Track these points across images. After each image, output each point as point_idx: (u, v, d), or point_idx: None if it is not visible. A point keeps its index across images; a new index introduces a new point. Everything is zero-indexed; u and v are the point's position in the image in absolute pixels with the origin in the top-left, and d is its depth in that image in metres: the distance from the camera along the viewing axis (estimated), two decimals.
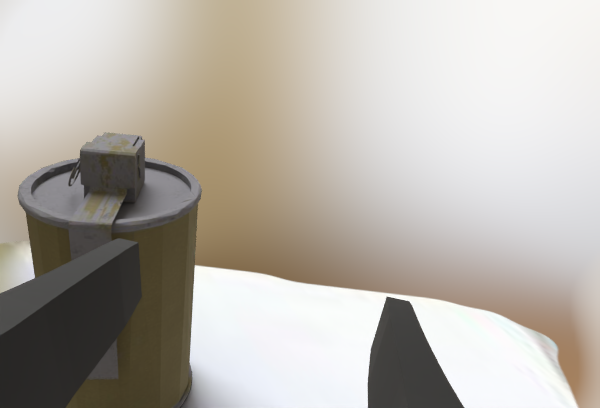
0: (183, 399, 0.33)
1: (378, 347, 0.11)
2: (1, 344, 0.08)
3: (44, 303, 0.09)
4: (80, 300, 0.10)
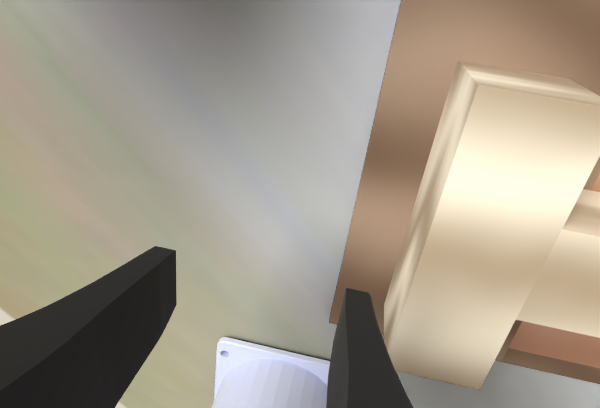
0: None
1: (336, 338, 0.11)
2: (57, 358, 0.08)
3: (94, 315, 0.09)
4: (124, 310, 0.10)
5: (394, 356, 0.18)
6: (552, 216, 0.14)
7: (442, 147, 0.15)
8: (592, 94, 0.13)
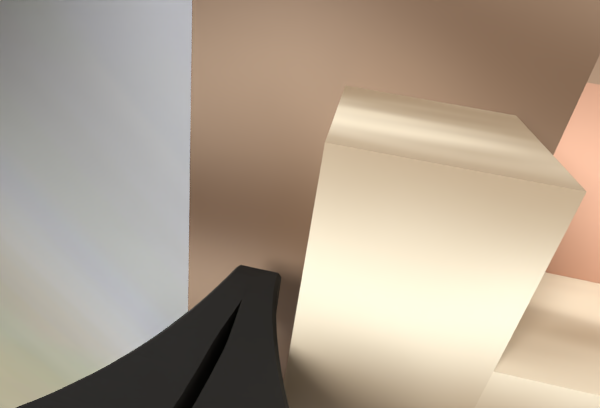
0: None
1: None
2: (188, 390, 0.07)
3: (210, 342, 0.09)
4: (228, 334, 0.10)
5: None
6: (476, 352, 0.08)
7: None
8: (540, 151, 0.08)
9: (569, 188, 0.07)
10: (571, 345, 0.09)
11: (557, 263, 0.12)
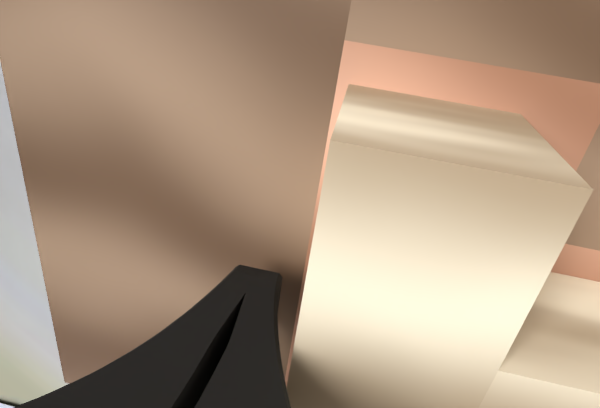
0: None
1: None
2: (187, 390, 0.07)
3: (209, 342, 0.09)
4: (227, 334, 0.10)
5: None
6: (480, 351, 0.08)
7: None
8: (545, 149, 0.08)
9: (575, 185, 0.06)
10: (576, 344, 0.09)
11: None
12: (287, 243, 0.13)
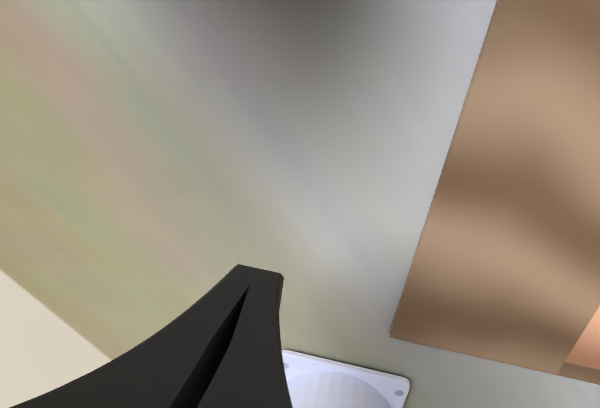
0: None
1: None
2: (185, 389, 0.07)
3: (207, 341, 0.09)
4: (225, 334, 0.10)
5: None
6: None
7: None
8: None
9: None
10: None
11: None
12: None
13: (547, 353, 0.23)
